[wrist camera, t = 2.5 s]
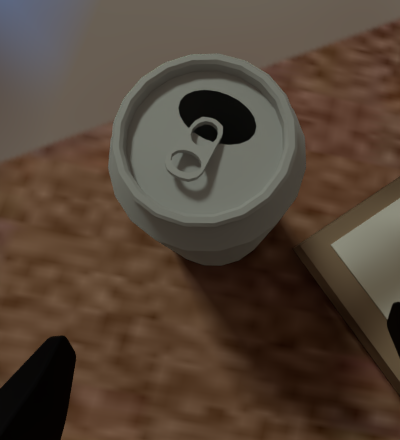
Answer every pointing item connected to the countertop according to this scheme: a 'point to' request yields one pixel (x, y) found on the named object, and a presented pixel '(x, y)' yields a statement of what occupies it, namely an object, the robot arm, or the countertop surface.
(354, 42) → the countertop surface
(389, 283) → the grey flat square slab
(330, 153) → the countertop surface
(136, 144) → the can
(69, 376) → the robot arm
